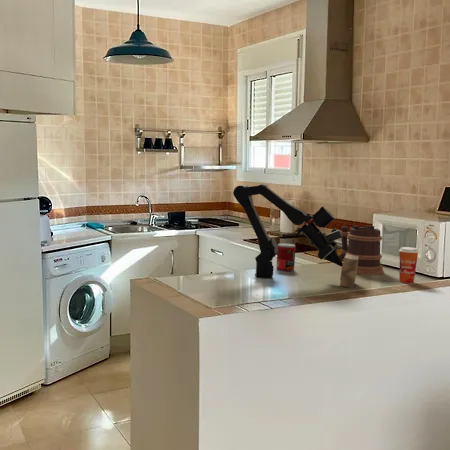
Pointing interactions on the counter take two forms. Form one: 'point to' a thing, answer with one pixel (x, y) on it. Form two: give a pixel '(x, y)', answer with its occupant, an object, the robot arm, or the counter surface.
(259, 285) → the counter surface
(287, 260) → the canned food
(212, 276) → the counter surface
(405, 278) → the paper cup
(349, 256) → the wooden box
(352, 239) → the mug
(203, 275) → the counter surface
